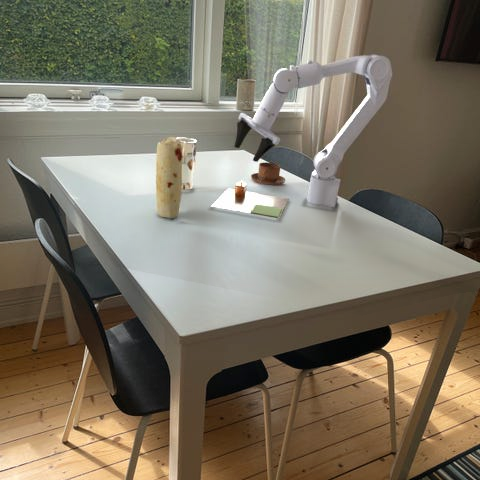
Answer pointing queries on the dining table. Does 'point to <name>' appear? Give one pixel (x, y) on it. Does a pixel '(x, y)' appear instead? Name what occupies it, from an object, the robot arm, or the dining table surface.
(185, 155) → the beer glass
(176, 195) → the food model
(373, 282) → the dining table surface
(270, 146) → the robot arm
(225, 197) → the board
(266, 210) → the corner pad
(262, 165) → the cup and saucer
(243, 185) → the goldfish
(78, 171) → the dining table surface
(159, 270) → the dining table surface
